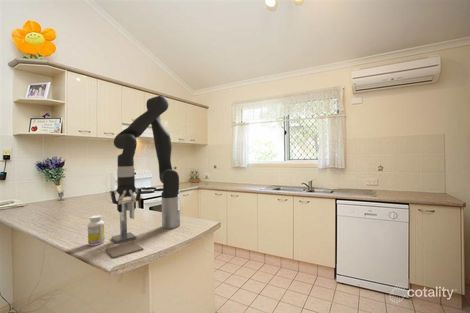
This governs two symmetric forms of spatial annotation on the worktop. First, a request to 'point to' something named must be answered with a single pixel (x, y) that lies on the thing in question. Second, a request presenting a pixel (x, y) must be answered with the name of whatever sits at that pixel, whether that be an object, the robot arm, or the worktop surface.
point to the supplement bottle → (95, 231)
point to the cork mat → (123, 249)
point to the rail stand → (124, 227)
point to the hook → (123, 210)
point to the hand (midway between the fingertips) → (126, 210)
